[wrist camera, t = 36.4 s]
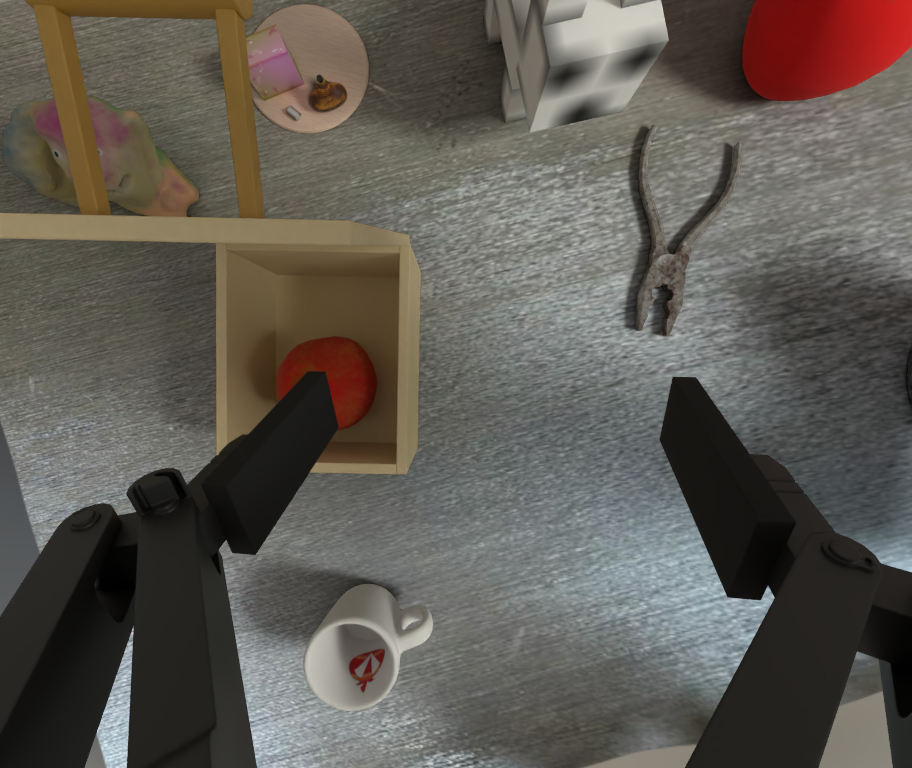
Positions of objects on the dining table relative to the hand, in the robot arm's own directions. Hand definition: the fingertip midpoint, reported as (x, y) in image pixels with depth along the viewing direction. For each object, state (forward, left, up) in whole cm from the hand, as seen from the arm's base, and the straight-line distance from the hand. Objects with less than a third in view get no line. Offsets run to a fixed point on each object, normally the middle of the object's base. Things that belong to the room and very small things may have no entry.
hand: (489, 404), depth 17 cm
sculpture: (+37, +12, -26) cm, 46 cm away
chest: (+10, +8, -26) cm, 29 cm away
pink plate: (+33, -8, -26) cm, 43 cm away
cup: (-11, +22, -26) cm, 36 cm away
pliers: (-3, -25, -26) cm, 36 cm away
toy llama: (+18, -24, -26) cm, 40 cm away
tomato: (+3, -42, -26) cm, 50 cm away
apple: (+8, +9, -25) cm, 28 cm away
